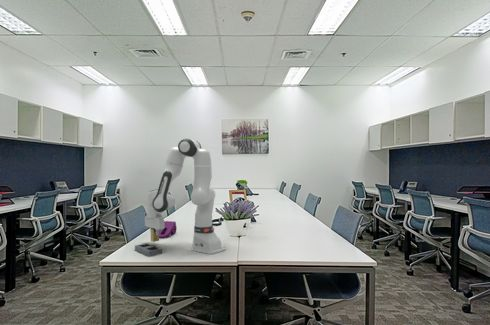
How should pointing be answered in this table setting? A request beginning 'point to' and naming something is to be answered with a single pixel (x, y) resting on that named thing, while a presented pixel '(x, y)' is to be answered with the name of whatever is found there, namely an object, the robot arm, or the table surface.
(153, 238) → the bronze block
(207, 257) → the table surface
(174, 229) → the mounting bracket
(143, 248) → the gray slotted block
